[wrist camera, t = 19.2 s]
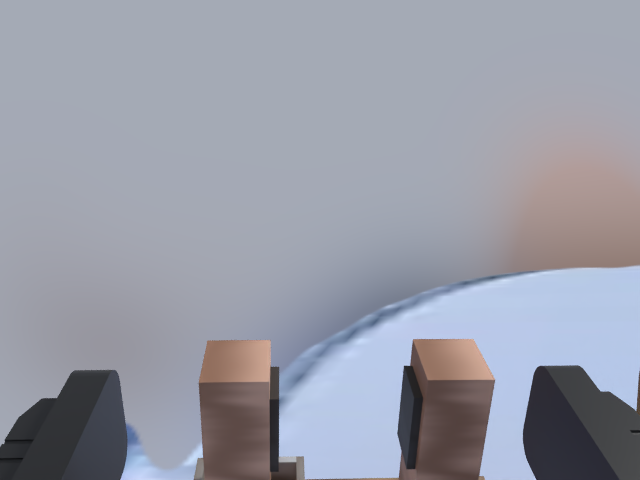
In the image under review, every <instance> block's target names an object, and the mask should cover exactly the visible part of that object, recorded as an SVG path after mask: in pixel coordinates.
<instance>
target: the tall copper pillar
mask: <svg viewBox="0 0 640 480" xmlns="http://www.w3.org/2000/svg"><path fill="white" fill-rule="evenodd" d="M270 352H271V350H270V340H229V341H228V340H226V341H225V340H224V341H207V346H206V351H205V355H204V360H203V365H202V370H201V375H200V379H199V394H200V411H201V426H202V427H201V428H202V445H203V462H204V479H205V480H271V472H279V367H271V362H270V361H271V355H270Z"/></svg>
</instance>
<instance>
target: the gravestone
mask: <svg viewBox="0 0 640 480" xmlns="http://www.w3.org/2000/svg"><path fill="white" fill-rule="evenodd" d="M494 383H495V379H494V377H493V375H492V373H491V371H490V369H489V367H488V366H487V364H486V362H485V360H484V358H483V356H482V354H481V353H480V351H479V349H478V347H477V345H476V343H475V341H474V340H473V339H413V344H412V354H411V364H410V366H404V371H403V382H402V392H401V402H400V413H399V423H398V433H397V434H398V438H399V442H400V446H401V450H402V452H401V462H400V472H399V478H362V479H307V480H485V479H484V476H479V473H480V467H481V461H482V455H483V449H484V443H485V437H486V431H487V425H488V419H489V413H490V407H491V401H492V395H493V389H494ZM194 480H205V479H204V462H203V458H198V460H197V465H196V471H195V476H194ZM271 480H305V477H304V457H279V472H271Z"/></svg>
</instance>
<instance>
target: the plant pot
mask: <svg viewBox="0 0 640 480" xmlns="http://www.w3.org/2000/svg"><path fill="white" fill-rule="evenodd" d="M637 413H638V414H639V416H640V373H639V383H638V398H637Z"/></svg>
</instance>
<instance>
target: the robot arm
mask: <svg viewBox="0 0 640 480" xmlns="http://www.w3.org/2000/svg"><path fill="white" fill-rule="evenodd" d="M523 444H524V450H525V455H526V458H527V461H528V463H529V465H530V467H531V469H532V471H533V473H534V476H535V478H536V480H640V416H639V414H638V413H637V412H636V411H635V410H634V409H633V408H632V407H630V406H629V405H628V404H626V403H625V402H623V401H622V400H621V399H619V398H618V397H616V396H615V395H613V394H612V393H611V392H600V390H599V389H598V388H597V386H596V385H595V384H594V383H593V381H592V380H591V379H590V377H589V376H588V375H587V373H586V372H585V371H584V369H583V368H581V367H580V366H539V367H537V369H536V370H535V373H534V376H533V381H532V386H531V391H530V397H529V402H528V407H527V412H526V418H525V423H524V429H523ZM126 455H127V430H126V423H125V416H124V409H123V401H122V394H121V387H120V381H119V376H118V373H117V372H116V371H115V370H84V371H83V370H80V371H79V370H78V371H73V372H72V373H71V374H70V376H69V378H68V380H67V382H66V383H65V385H64V387H63V389H62V390H61V392H60V394H59V396H58V398H49V399H48V398H44V399H41V400H40V401H39V402H37V403H36V404H35V405H33V406H32V407H31V408H30V409H29V410H27V411H26V412H25V413H24V414H22V415H21V416H20V417H19V418H18V420H17V421H16V423H15V424H14V426H13V428H12V429H11V431H10V432H9V434H8V436H7V437H6V439H5V443H4V444H2V445H1V447H0V480H120V479H121V476H122V473H123V470H124V466H125V462H126Z"/></svg>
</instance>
